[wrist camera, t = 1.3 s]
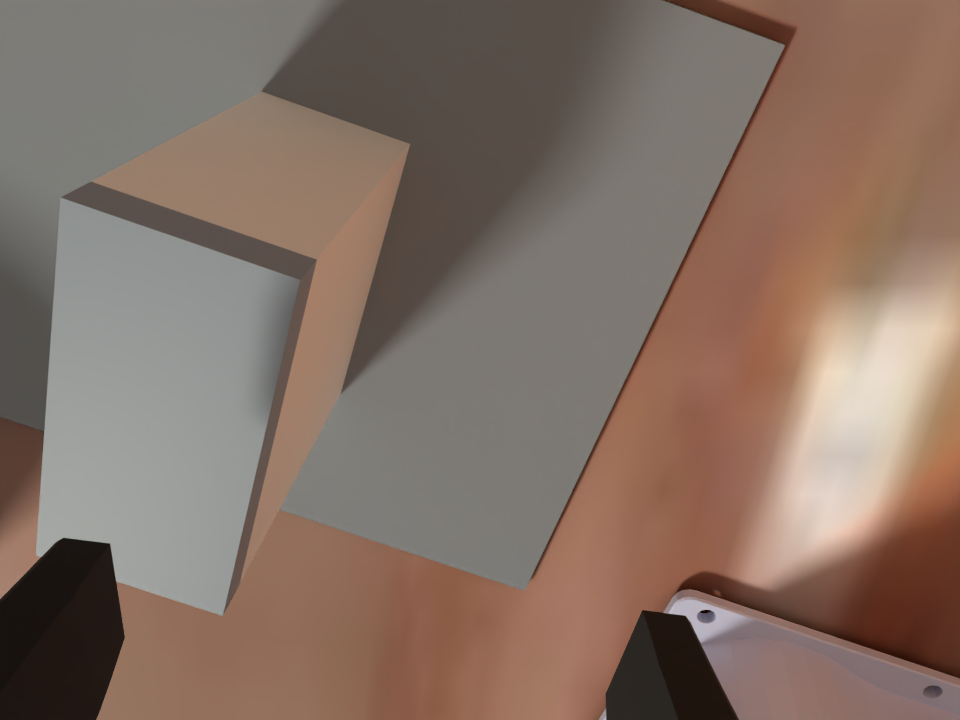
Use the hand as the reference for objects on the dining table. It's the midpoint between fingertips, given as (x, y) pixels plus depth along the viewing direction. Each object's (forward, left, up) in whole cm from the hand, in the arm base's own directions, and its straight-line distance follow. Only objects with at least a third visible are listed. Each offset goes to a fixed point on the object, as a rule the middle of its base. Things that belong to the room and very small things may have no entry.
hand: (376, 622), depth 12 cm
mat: (+6, 0, -11) cm, 12 cm away
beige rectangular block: (+4, 0, -10) cm, 11 cm away
